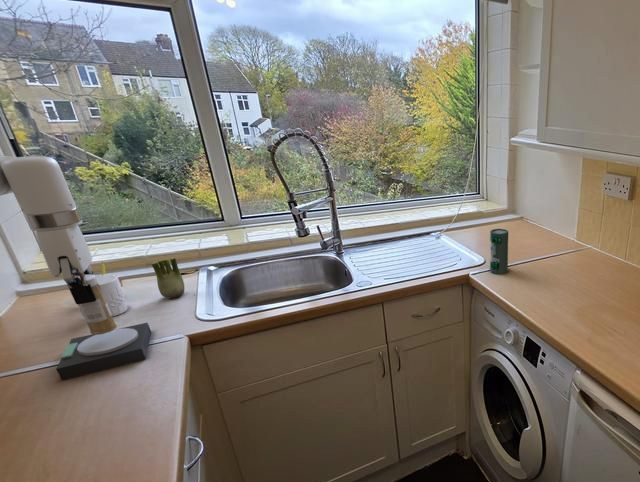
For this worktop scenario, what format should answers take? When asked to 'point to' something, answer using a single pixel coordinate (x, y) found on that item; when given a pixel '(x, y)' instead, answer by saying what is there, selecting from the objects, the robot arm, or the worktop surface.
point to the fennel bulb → (169, 278)
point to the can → (499, 251)
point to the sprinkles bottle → (97, 310)
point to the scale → (104, 351)
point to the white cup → (112, 293)
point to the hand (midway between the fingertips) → (89, 296)
